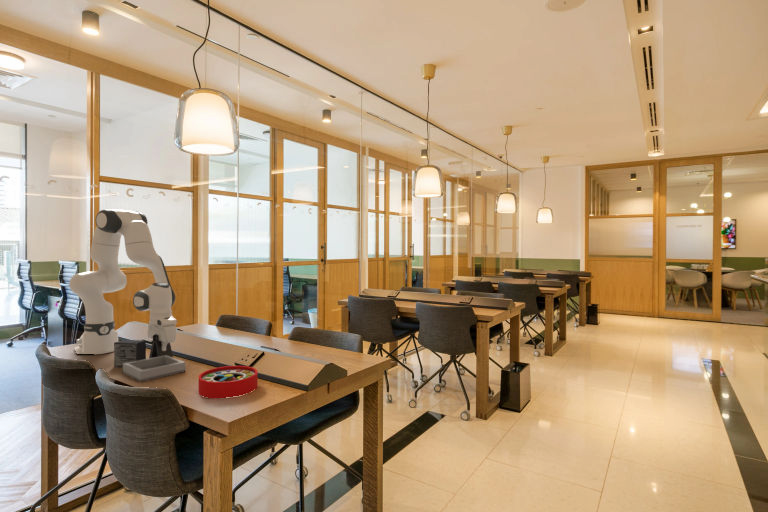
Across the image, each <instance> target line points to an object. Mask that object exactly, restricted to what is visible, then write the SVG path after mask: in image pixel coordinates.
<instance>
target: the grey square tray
mask: <svg viewBox="0 0 768 512" xmlns="http://www.w3.org/2000/svg"><path fill="white" fill-rule="evenodd" d="M184 371H185V372H186V361H184V360H181V359H178V358H175V357H174V356H173V357H170V356H167V355H164V356H159V357H154V358H149V357H148V358H146V359H143V360H138V361H133V362H128V363H123V367H122V374H123V373H124V375H125V374H126V375H125V376H127V375H128V376H127V377H129V376H130V377H129V378H131V377H132V378H131V379H133V378H134V379H133V380H135V379H136V381H137V380H138V381H137V382H139V381H140V382H139V383H142V382H141V381H143V382H147V381H146V380H148V381H152V380H156V379H160V377H161V378H164V376H165V377H169V376H173V375H172V374H174V375H177V374H176V373H178V374H181V373H180V372H182V373H185V372H184ZM168 375H169V376H168ZM155 378H156V379H155ZM151 379H152V380H151Z"/></svg>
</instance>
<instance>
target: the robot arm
mask: <svg viewBox="0 0 768 512" xmlns="http://www.w3.org/2000/svg"><path fill="white" fill-rule="evenodd" d="M146 216H147V215H145V214H143V213H142V212H139V211H135V210H133V211H132V210H127V209H111V208H109V209H108V208H107V209H102V210H100V211H98V212H97V214H96V216H95V224H96V227H95V230H94V232H93V236H92V242H91V246H90V247H91V248H90V253H89V257H90V260H92V262H94V263H96V264H97V267H98V268H97V270H94V271H83V272H79V273H75V274H73V275H72V276H71V278H70V280H69V288H70V290H71V291H72V293H74V294H75V295H76V296H78V297H79V298H80V300H81V301H82V303H83V305H84V310H85V312H84V313H85V323H84V325H83V330H84V331H83V333H82V334H81V336H80V337H79V338H77V339H76V344H77V345H78V346H74V349H75V350H74V352H75V351H76V352H75V354H76V353H77V354H94V355H103V354H108V353H113V352H114V342H118V341H119V332H118V331H117V330H115V328H116V327H115V324H116V323H115V320H114V306H113V304H112V303H111V302H110V301H107V300H106V299H105V297H104V294H107V293H108V294H109V293H115V292H117V291H121V290H124V289H125V288H126V286H127V284H128V280H127V279H128V278H127V276H126V274H125V273H124V272H123V271H122V270H121V268H120V266H119V261H118V260H119V253H120V251H119V250H120V245H121V238H122V236H123V239H124V247H125V253H126V256H127V258H128V259H129V260H130V261H131V262H132V263H135V264H136V265H140V266H143V267H145V268H147V269H149V270H150V271H151V273H152V274H153V278H154V282H153V283H152V284H150V286H149V287H146V288H145V289H142V290H138V291H136V292H135V293H134V295H133V297H132V303H133V307H134V308H135V309H136V310H138V311H139V312H146V311H147V312H148V311H149V322H148V325H147V336H148V338H149V339H153V335H155V334H157V335H158V336H159V341H161V343H162V351H166V346H167V344H168V343H170V344H172V343H174V342H175V341H176V338H177V326H176V325H177V324H178V321H177V318H175V317H174V315H173V310H172V307H173V305H174V304H175V302H176V294H175V291H174V289H173V288H172V284H171V282H170V279H169V275H168V273H167V270H166V265H165V263H164V260H163V259H162V257H161V256H160V255H159V254H158V253H157V252H156V250H155V247H154V243H153V239H152V234H151V231H150V228H149V225H148V217H146Z"/></svg>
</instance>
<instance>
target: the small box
mask: <svg viewBox="0 0 768 512" xmlns="http://www.w3.org/2000/svg"><path fill="white" fill-rule="evenodd" d="M146 348H147V340H143V339H141V340H140V339H122V340H118V342H114V351H113V352H114V355H113V356H114V359H113V360H114V361H113V362H114V363H113V367H114V368H123V363H128V362H133V361H138V360H143V359H147V351H146V350H147V349H146Z"/></svg>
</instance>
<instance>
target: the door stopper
mask: <svg viewBox="0 0 768 512" xmlns="http://www.w3.org/2000/svg"><path fill="white" fill-rule="evenodd" d="M149 352H150V353H149V357H148V359H149V358H154V357H159V356H164V355H167V356H170V357H173V358H174V355H173V351H172V345H171V343H168V344H167V346H166V351H162V343H161V341H159V336H158V335H157V334H155V335H153V338H152V343H151V347H150V351H149Z"/></svg>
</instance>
